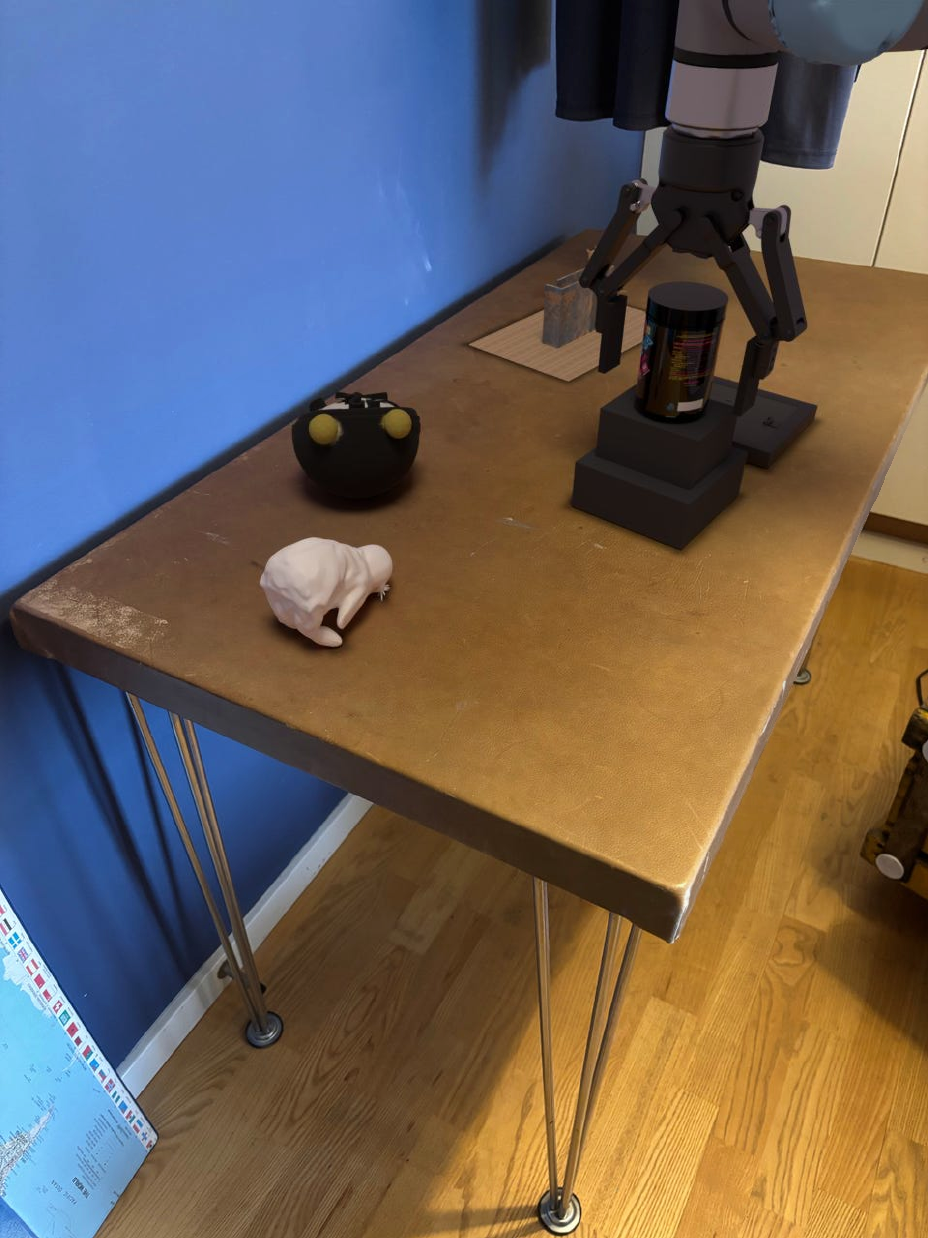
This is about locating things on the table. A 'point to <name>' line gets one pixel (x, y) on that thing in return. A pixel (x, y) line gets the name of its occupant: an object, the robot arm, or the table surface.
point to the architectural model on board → (561, 332)
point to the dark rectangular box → (655, 497)
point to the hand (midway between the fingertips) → (673, 388)
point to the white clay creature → (323, 583)
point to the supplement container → (679, 350)
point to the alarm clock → (356, 443)
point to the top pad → (665, 441)
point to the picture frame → (765, 422)
